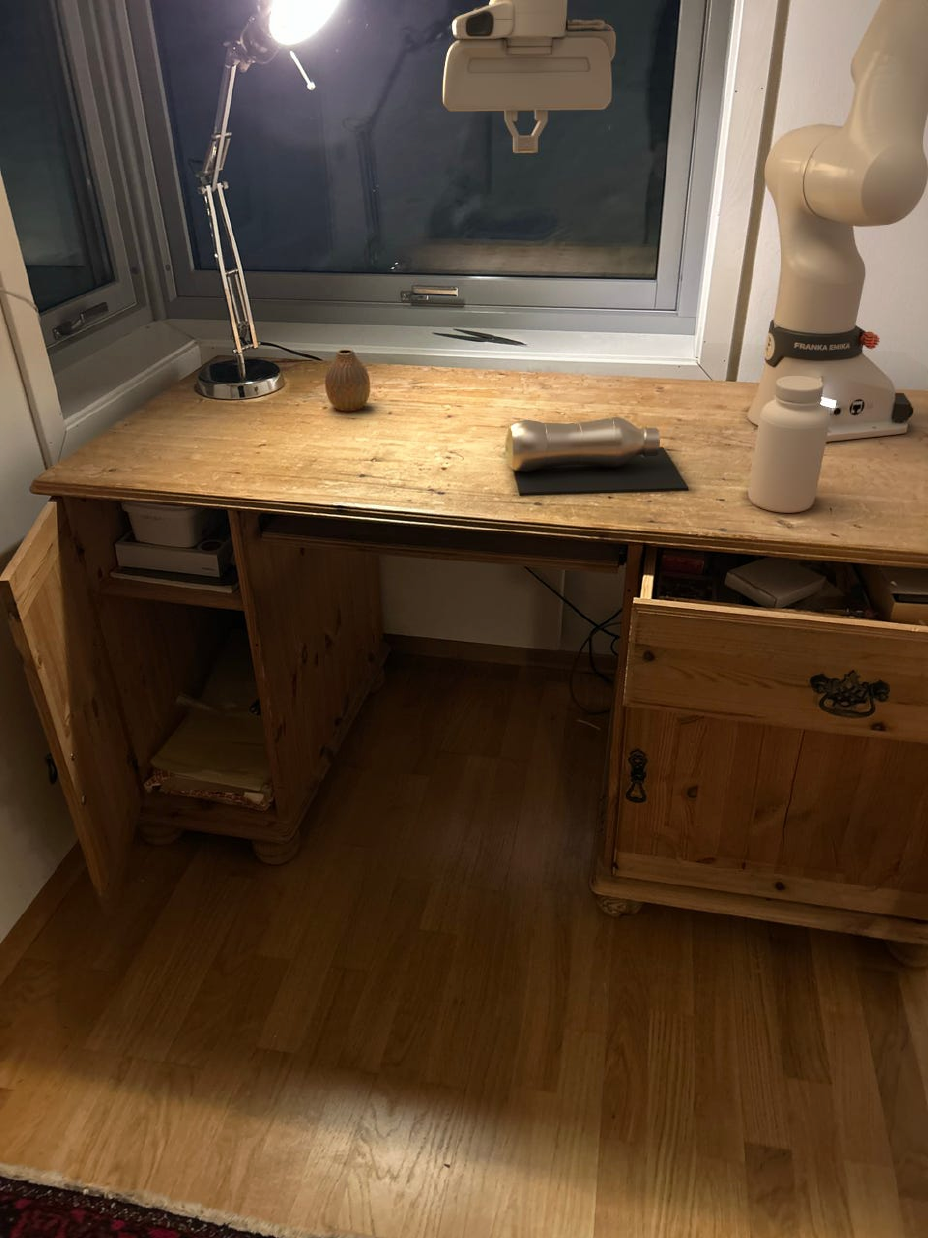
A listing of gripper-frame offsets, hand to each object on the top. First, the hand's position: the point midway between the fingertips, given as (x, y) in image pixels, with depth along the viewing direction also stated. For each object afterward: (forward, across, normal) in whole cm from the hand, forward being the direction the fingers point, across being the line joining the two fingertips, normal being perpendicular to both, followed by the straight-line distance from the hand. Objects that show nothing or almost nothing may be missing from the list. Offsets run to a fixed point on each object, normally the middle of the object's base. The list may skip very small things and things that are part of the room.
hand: (525, 152), depth 118 cm
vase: (+37, +25, -15) cm, 47 cm away
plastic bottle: (+33, +3, +13) cm, 36 cm away
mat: (+37, -9, +13) cm, 40 cm away
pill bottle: (+37, -30, +24) cm, 54 cm away
